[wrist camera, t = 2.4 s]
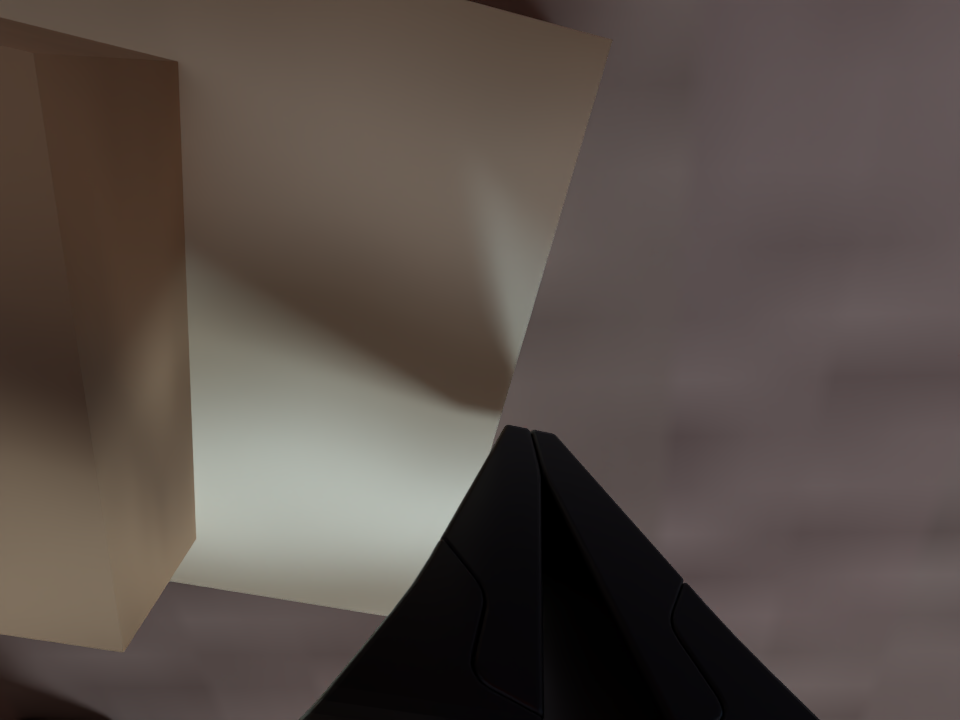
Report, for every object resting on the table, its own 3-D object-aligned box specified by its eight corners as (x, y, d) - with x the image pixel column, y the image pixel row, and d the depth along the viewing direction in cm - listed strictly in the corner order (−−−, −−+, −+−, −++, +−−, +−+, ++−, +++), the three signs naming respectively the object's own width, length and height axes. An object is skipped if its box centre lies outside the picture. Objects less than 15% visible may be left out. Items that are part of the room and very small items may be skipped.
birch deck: (450, 502, 16) (438, 624, 12) (-123, 398, 14) (-323, 501, 11) (570, 53, 10) (613, 40, 7) (-343, -191, 9) (-897, -372, 5)
